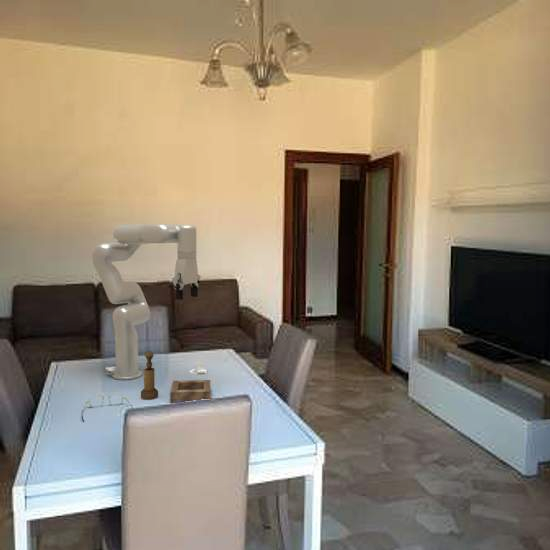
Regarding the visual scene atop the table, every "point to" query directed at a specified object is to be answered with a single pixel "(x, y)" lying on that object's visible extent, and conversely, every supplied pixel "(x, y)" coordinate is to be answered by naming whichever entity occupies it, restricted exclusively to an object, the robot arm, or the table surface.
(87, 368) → the table surface
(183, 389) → the walnut holder
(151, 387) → the brown flared column
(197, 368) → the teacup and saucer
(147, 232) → the robot arm
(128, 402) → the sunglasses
